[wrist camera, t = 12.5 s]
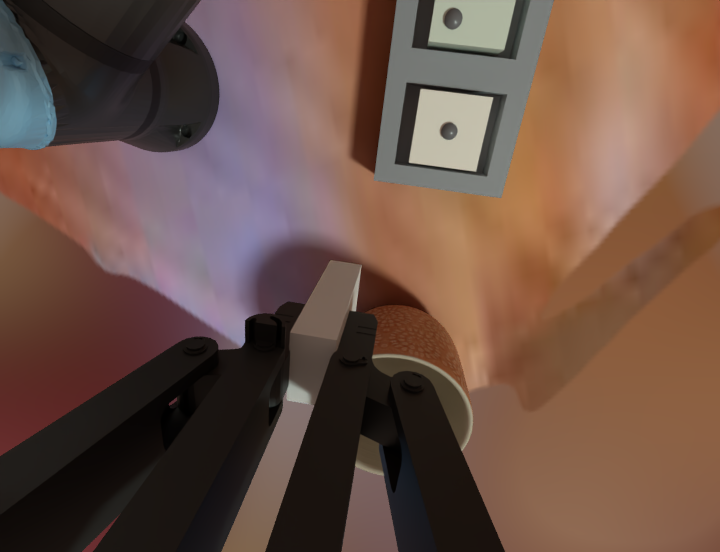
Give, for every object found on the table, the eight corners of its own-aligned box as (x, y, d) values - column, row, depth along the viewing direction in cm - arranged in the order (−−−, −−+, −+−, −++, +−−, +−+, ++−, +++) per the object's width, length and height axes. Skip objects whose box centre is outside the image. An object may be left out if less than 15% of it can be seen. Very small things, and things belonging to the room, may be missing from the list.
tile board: (376, 175, 46) (373, 180, 42) (429, -232, 32) (432, -277, 28) (493, 191, 45) (501, 198, 41) (599, -221, 31) (624, -266, 27)
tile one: (408, 158, 43) (408, 162, 39) (419, 91, 40) (420, 88, 37) (470, 167, 43) (476, 171, 39) (485, 99, 40) (493, 97, 36)
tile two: (426, 48, 39) (428, 40, 35) (440, -36, 36) (443, -55, 32) (495, 56, 38) (504, 49, 35) (514, -29, 36) (527, -47, 32)
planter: (316, 347, 56) (285, 422, 43) (386, 265, 50) (377, 322, 36) (405, 409, 59) (403, 499, 45) (483, 338, 52) (509, 418, 38)
